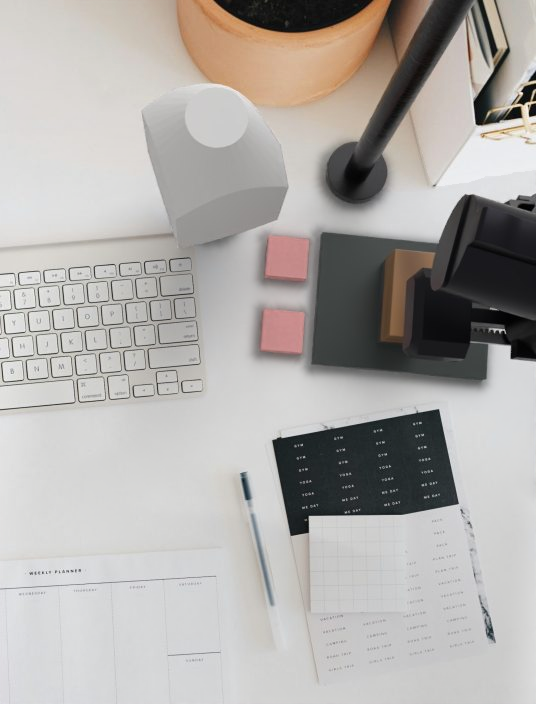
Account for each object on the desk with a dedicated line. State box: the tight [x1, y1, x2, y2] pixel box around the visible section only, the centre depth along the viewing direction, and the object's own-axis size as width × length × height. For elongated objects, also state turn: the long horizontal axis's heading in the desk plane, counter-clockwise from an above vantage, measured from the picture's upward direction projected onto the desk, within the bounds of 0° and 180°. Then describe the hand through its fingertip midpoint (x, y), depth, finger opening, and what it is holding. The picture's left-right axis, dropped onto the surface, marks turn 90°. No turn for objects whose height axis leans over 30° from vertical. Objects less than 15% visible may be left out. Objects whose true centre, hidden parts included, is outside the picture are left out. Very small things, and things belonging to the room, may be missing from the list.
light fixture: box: [140, 82, 290, 249], centre depth 63 cm, size 9×9×20 cm
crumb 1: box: [263, 234, 310, 283], centre depth 72 cm, size 4×4×1 cm
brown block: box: [376, 249, 435, 346], centre depth 69 cm, size 4×8×5 cm, turn 175°
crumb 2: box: [259, 308, 306, 356], centre depth 72 cm, size 4×4×1 cm
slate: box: [310, 231, 491, 381], centre depth 72 cm, size 17×13×1 cm
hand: (491, 342), depth 61 cm, fingers open, 9 cm apart
